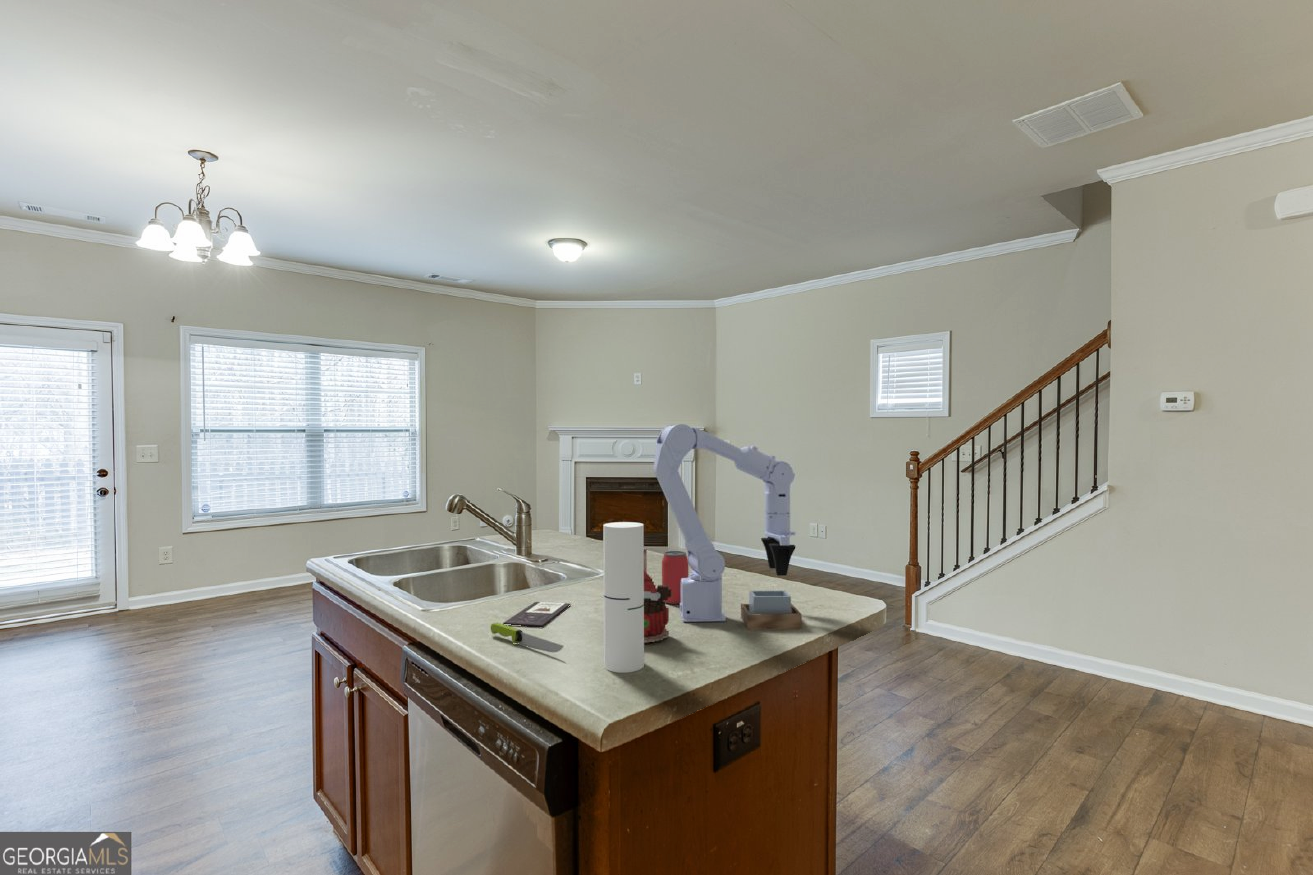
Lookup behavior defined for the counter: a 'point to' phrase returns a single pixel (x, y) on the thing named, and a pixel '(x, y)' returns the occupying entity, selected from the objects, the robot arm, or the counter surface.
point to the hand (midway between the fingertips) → (777, 571)
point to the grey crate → (769, 602)
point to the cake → (654, 608)
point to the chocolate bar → (537, 614)
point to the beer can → (674, 573)
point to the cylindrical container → (623, 596)
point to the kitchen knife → (525, 638)
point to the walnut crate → (771, 619)
